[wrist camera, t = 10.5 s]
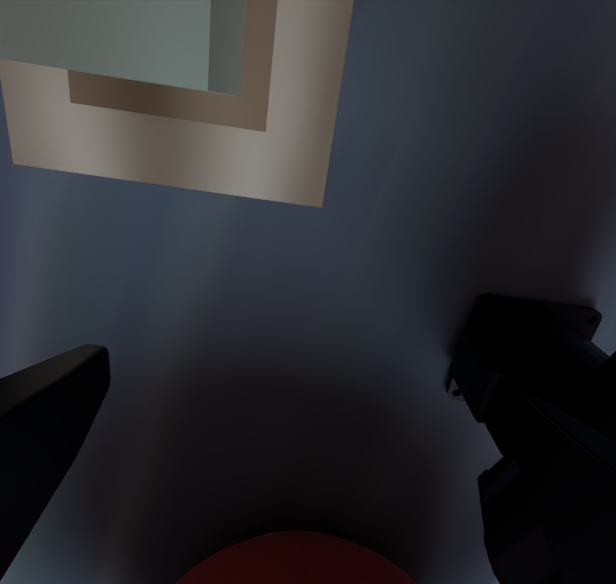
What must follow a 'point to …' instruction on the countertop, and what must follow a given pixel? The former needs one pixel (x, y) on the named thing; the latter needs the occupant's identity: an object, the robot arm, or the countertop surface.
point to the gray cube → (131, 39)
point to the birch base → (198, 113)
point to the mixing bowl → (296, 562)
